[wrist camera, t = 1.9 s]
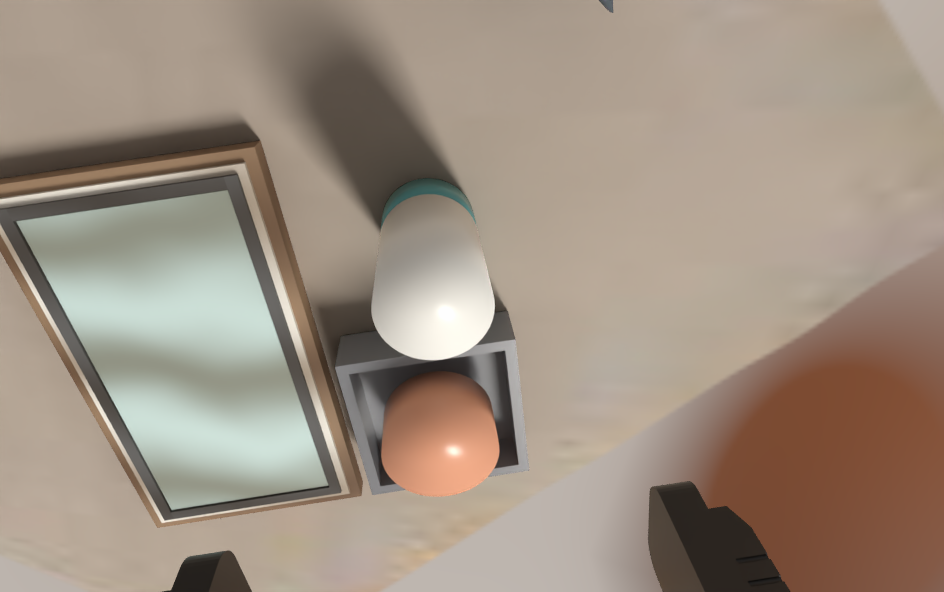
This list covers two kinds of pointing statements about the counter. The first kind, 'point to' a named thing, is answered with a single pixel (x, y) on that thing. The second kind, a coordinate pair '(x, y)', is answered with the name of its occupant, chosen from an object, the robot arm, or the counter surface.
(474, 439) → the button
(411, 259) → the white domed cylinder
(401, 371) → the button housing
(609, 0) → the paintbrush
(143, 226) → the framed mirror
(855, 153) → the counter surface
